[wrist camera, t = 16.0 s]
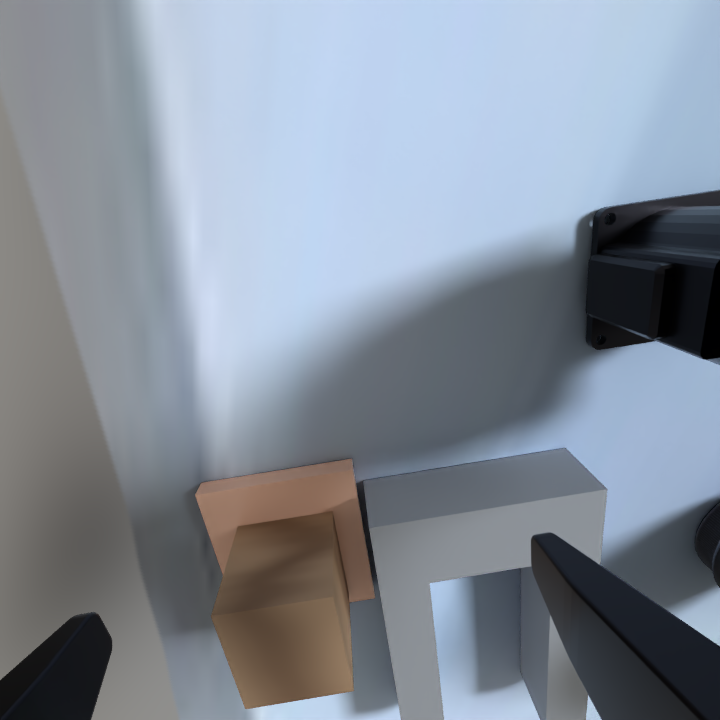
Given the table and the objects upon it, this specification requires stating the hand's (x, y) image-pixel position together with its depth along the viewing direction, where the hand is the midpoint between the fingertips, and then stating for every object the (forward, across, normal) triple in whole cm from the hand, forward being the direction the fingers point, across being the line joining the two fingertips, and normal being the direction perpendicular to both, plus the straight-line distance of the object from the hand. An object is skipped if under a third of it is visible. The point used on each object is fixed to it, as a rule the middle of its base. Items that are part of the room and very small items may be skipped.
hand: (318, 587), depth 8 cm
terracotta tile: (+12, +4, +10) cm, 16 cm away
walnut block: (+11, +4, +10) cm, 15 cm away
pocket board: (+12, -6, +16) cm, 21 cm away
